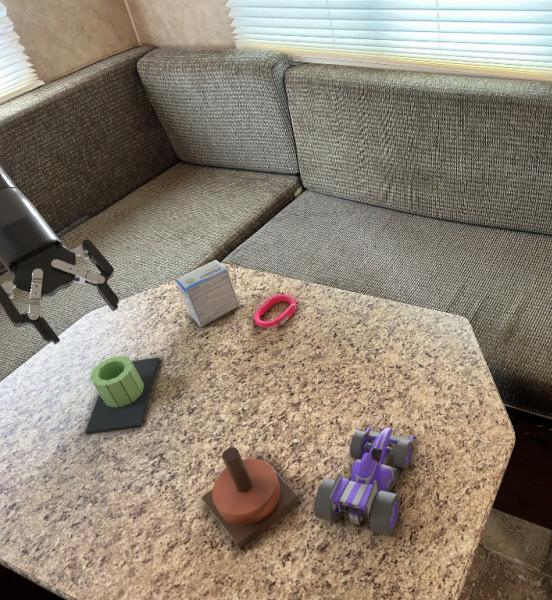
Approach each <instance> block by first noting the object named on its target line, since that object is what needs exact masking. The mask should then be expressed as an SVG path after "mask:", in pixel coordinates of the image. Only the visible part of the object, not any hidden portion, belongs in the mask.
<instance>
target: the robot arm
mask: <svg viewBox="0 0 552 600" xmlns="http://www.w3.org/2000/svg"><path fill="white" fill-rule="evenodd" d="M77 257H80V258H82V259H83V260H86V261H87V260H90V262H91V263H92V264H93V265H94V266H95V268H96V269H97V270H98V271H99V272H100V273H99V274H98V273H95V272H92V271H89V270H88V269H86V268H83V267H80V266H77V265H76V264H77V263H76V262H77V261H76V260H77ZM0 262H1V264H2V265H3V266H4V267H5V269H6V270H7V271H8V273H9V274H10V275H11V279H10V280H8V281H6V282H3V283H1V284H0V307H1V309H2V310H3V312H4V313H5V315H6V316H7V318H8V319H9V321H10V322H11V324H12V325H13V326H14V328H22V327H23V326H28V325H29V326H32V327H34V329H35V330H36V331H37V333H38V334H39V336H40V337H41V338H42V339H43V340H44V341H45V342H46V343H47V344H51V343H53V345H55V346H56V345H57V344H59V343H61V339H60V337H59V336H58V334H57V333H56V332H55V331H54V329H53V328H52V327H51V326H50V324H49V323H48V321H47V319H45V318H44V317H43V316H41V310H42V306H43V305H42V304H43V298H47V297H49V298H52V297H53V296H55V295H56V294H57V293H58V292H60V291H61V290H65V289H68V288H70V287H71V286H72V285H73V283H77V284H81V285H86V286H90V287H93V288H96V289H97V290H96V291H97V293H98V294H99V295H100V297H101V298H102V299H103V301H104V302H105V303H106V305H107V307H108V308H109V309H110V310H111V311H112V312H115V311H117V310H118V309H119V303H120V300H119V297H118V295H117V294H116V293H115V291H114V290H113V289H112V288H111V286H110V285H109V283H108V281H109V280H110V279H113V276H114V272H115V268H114V266H113V265H112V264H111V263H110V262H109V261H108V260H107V258H106V257H105V256H104V255H103V254H102V252H101V251H100V250H99V249H98V248H97V247H96V245H95V244H94V243H93V242H92V241H91V240H90V239H88V238H87V239H84V240H82V241H81V244H79V245H77V246H76V247H74V248H73V249H70V248H68V247H66V246H65V244H64V243H63V242H62V241H61V240H60V238H59V237H58V236H57V235H56V233H55V232H54V230H53V229H52V228H51V227H50V225H49V224H48V222H47V221H46V220H45V218H44V217H43V215H41V213H40V212H39V210H38V209H37V208H36V207H35V205H34V204H33V203H32V201H30V199H28V197H27V196H26V195H24V194H23V192H22V191H21V190H20V189H19V187H18V186H17V185H16V183H14V181H13V179H12V178H11V177H10V175H9V174H8V173H7V171H6V170H5V169H4V168H3V166H2V165H1V164H0ZM14 289H18V290H20V291H24V292H27V293H30V294H29V307H28V312H26V313H20V311H19V310H18V308H17V307H16V306H15V304H14V303H13V301H12V299H14V297H15V294H14Z"/></svg>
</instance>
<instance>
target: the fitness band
mask: <svg viewBox="0 0 552 600" xmlns="http://www.w3.org/2000/svg"><path fill="white" fill-rule="evenodd" d="M279 302H287V303H289V304H290V305H288V307H287V308H286V309H285V310H284V311H283V312H282V313H281V314H279V316H278V317H276V318H275V319H272V320H268V321H267V320H266V321H264V320H261V317H262V316H263V315H264V314H265V313H266V312H267V311H268V310H269V309H270V308H271V307H272V306H273V305H275V304H276V303H279ZM296 309H297V304H296V301H295V300H294V299H293V298H292V297H291V296H289V295H287V294H275V295H273V296H271V297H269V298H268V299H267V300H265V301H264V302H263V303H262V304H261V305H260V306H259V307H258V308H257V310H256V311H255V313H254V315H253V319H254V322H255V324H256V325H257V326H258V327H260V328H270V327H274V326H276V325H279V326H283V325H284V324H285V323H286V322H287V321H288V320H289V319H290V318H291V317H292V315H294V314H295V313H296V312H295V311H296Z"/></svg>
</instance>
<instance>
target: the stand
mask: <svg viewBox="0 0 552 600" xmlns="http://www.w3.org/2000/svg"><path fill="white" fill-rule="evenodd" d="M221 459H222V461H223V463H224V465H225V467H226V468H225V469H223V470H222V471H221V473H220V474H219V475H218V476H217V478H216V479H215V482H214V484H213V486H212V489H211V490H209V491H208V492H206V493H205V494H203V495H202V496H201V497H200V498H201V500H202V502H203V504H204V505H205V506H206V508H207V509H208V510H209V512H210V513H211V514H212V515H213V517H214V518H215V520H216V521H217V522H218V523H219V525H220V526H221V528H223V530H224V532H225V533H226V534H227V536H229V538H230V539H231V541H232V542H233V543H234V545H235V546H236V547H237V548H238V550H239V551H242V550H243V549H244V548H245V547H246V546H248V545H249V544H251V543H252V542H253V541H254V540H255V539H257V538H258V537H259V536H261V534H263V533H264V532H266V530H268V529H269V528H271V526H273V525H274V524H276V523H277V522H278V521H279V520H280V519H282V518H283V517H284V516H285V515H287V514H289V513H290V511H292V510H293V509H294V508H295V507H297V506H298V505H300V504H301V499H300V497H299V495H298V494H297V493H296V491H294V490H293V488H292V487H291V486H290V485H289V484H288V483H287V482H286V481H285V480H284V479H283V477H281V475H279V473H278V472H277V471H276V470H275V469H274V467H273V466H272V465H271V464H270V463H269V462H268V461H267V460H266V459H265V458H264V457H263V456H262V455H261V454H258V456H256V457H254V458H244V459H243V458H242V455H241V453H240V451H239V449H238V448H236V447H228V448H226V449H225V450H224V451H223V452H222V455H221Z"/></svg>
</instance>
